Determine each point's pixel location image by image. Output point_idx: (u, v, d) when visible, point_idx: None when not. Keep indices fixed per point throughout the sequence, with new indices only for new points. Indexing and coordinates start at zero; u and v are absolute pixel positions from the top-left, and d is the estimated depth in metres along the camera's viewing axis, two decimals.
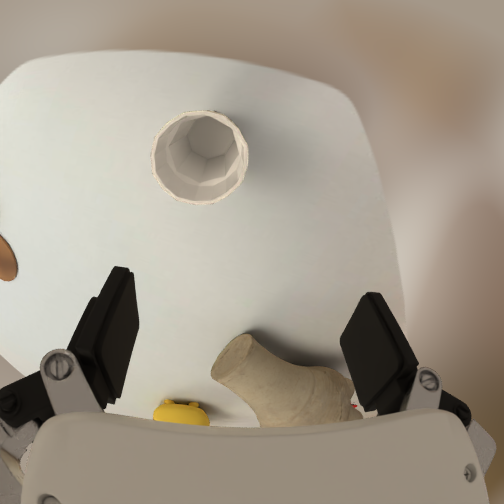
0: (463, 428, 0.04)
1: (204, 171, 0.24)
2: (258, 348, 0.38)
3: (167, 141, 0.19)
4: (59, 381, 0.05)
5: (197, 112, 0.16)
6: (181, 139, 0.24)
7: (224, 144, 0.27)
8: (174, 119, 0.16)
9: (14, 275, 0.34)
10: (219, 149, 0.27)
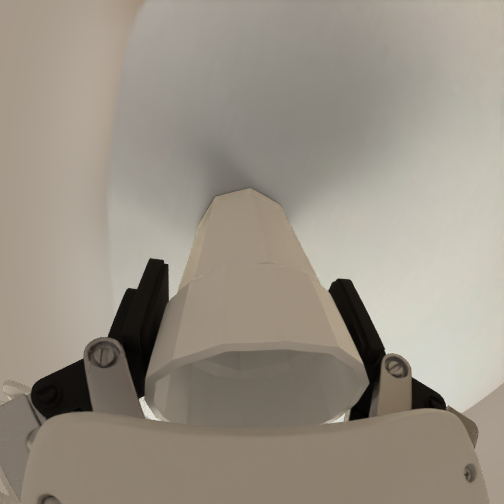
0: (463, 428, 0.04)
1: None
2: None
3: (229, 377, 0.11)
4: (101, 368, 0.06)
5: (151, 406, 0.07)
6: None
7: None
8: None
9: None
10: None
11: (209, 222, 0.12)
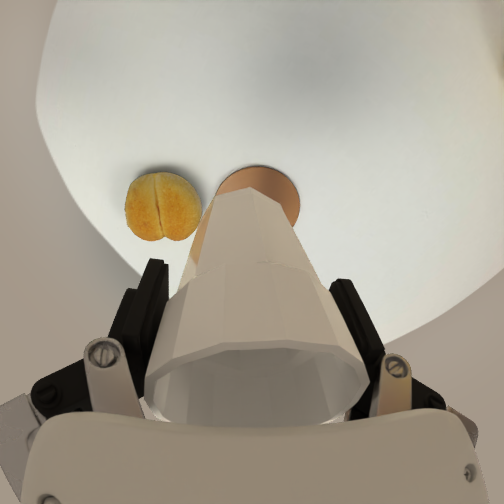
0: (463, 428, 0.04)
1: None
2: None
3: (230, 377, 0.11)
4: (101, 368, 0.06)
5: (151, 405, 0.07)
6: None
7: None
8: None
9: (290, 184, 0.31)
10: None
11: (209, 221, 0.12)
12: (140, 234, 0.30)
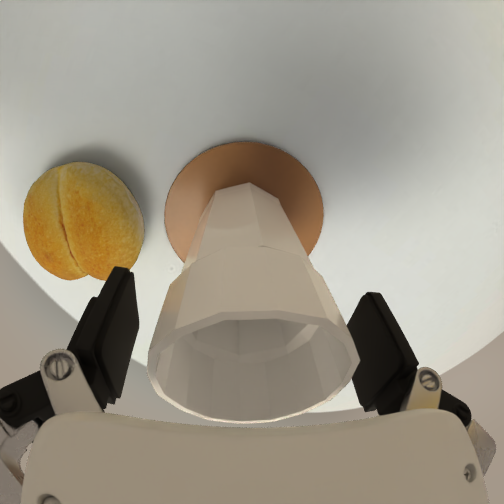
0: (463, 428, 0.04)
1: None
2: None
3: (228, 361, 0.12)
4: (59, 381, 0.05)
5: (153, 382, 0.08)
6: None
7: None
8: (173, 403, 0.09)
9: (307, 175, 0.16)
10: None
11: (210, 213, 0.13)
12: (49, 271, 0.15)
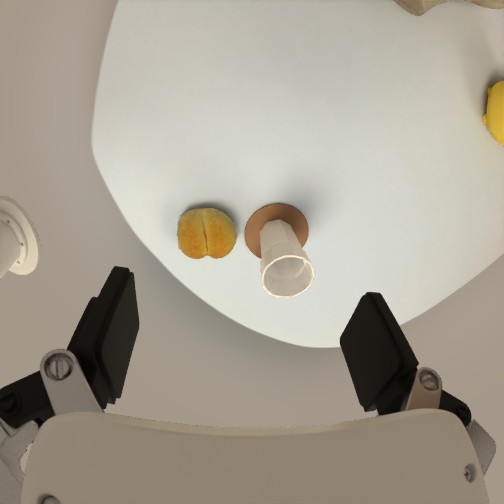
0: (463, 428, 0.04)
1: None
2: None
3: (276, 280, 0.38)
4: (59, 381, 0.05)
5: (262, 278, 0.34)
6: (276, 260, 0.42)
7: None
8: (264, 287, 0.35)
9: (301, 216, 0.42)
10: None
11: (269, 232, 0.39)
12: (190, 254, 0.41)
